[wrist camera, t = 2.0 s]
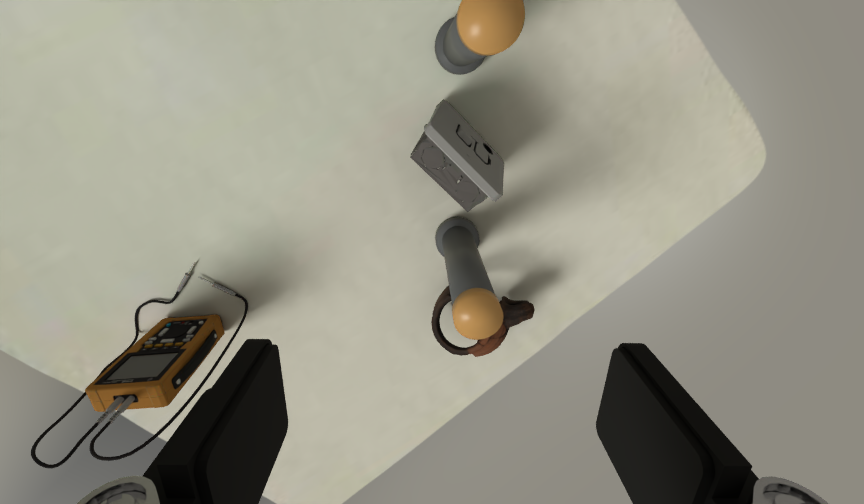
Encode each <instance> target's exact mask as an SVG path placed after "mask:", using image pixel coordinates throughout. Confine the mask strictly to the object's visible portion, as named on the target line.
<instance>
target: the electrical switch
mask: <svg viewBox="0 0 864 504" xmlns="http://www.w3.org/2000/svg"><path fill="white" fill-rule="evenodd" d="M424 130H425V131H424V133H423V134H422V136H421V138H420V140H419V141H418V143H417V145H416V147H415V148H414V150H413V152H412V153H411V155H412V156H411V155H410V156H411V158H412V159H413V160H414V161H415V162H416V163H417V164H418V165H419V166H420V167H421V168H422V169H423V170H424V171H425V172H426V173H427V174H428V175H429V176H430V177H431V178H433V179H434V180H435V181H436V182H437V183H438V184H439V185H440V186H441V187H442V188H443V189H444V190H445V191H446V192H447V193H448V194H449V195H450V196H451V197H452V198H453V199H454V200H456V201H457V202H458V203H459V204H460V205H461V206H462V207H463V208H464V209H465V210H466V211H467V212H469V211H470V210H471V209H472V208H473V207H475V206H476V205H477V204H479V203H481V202H482V201H484V200H485V199H486V198H487V197H489V198H490V199H491V200H492V201H497V200H498V199H499V198H500V197H501V196H502V195H503V174H504V162H503V160H502V158H501V157H500V156H499V155H498V154H497V153H496V152H495V151H494V150H493V149H492V148H491V147H490V146H489V144H488V143H487V142H486V141H485V140H484V139H483V138H482V137H481V136H480V135H479V134H478V133H477V132H476V131H475V130H474V129H473V128H472V127H471V126H470V125H469V123H468V122H467V121H466V120H465V119H464V118H463V117H462V116H461V115H460V114H459V113H458V112H457V111H456V110H455V109H454V108H453V107H452V106H451V105H450V104H449V103H448V102H447V101H446V100H444V99H443V100H442V101H441V102H440V103H439V104H438V105H437V106H436V109H435V111H434V113H433V115H432V117H431V119H430V122H429V123H428V124H426V125H425V127H424ZM421 156H422V157H421ZM444 159H445V160H444ZM424 164H425V165H424ZM425 166H426V167H425ZM439 167H440V168H439ZM444 167H445V169H443V168H444ZM437 168H439V169H437ZM442 169H443V170H442ZM458 180H460V182H459V183H458V184H457V181H458ZM456 192H457V193H456ZM462 201H464V202H462Z"/></svg>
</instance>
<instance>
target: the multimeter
mask: <svg viewBox="0 0 864 504" xmlns="http://www.w3.org/2000/svg"><path fill="white" fill-rule="evenodd" d="M194 265H195V263H194V264H193V265H192V267H191V269H190V270H189V272H188V273H185V276H184V278H183V280H182V281H181V283H180V285H179V287H178V289H177V292H176V294H175V296H174V298H173V299H172V300H171V301H170V302H165V301H158V300H152V301H148V302H146V303H144V304H142V305H141V306H139V307H138V309H137V310H136V313H135V327H136V336H135V339H134V341H133V342H132V344H131V345H130V346H129V347H128V348H127V349H126V350H125V351H124V352H123V353H122V354H121V355H119V356H118V357H117V358H116V359H114V360H113V361H112V362H111V363H110V364H108V365H107V366H106V367H105V368H104V369H103V370H102V372H101V373H100V374H99V376H98V377H97V378H96V379H95V380H94V381H93V382H92V383H91V384H90V385H89V386H88V387H87V388H86V389H85V393H84V394H83V395H82V396H81V397H80V398H79V399H78V400H77V401H76V402H75V403H74V405H73V406H72V407H71V408H70V409H69V410H68V411H67V412H66V413H65V414H63V416H61V417H60V418H59V419H58V420H57V421H56V422H55V423H54V424H52V425H51V426H50V427H49V428H48V429H47V430H46V431H45V432H44V433H43V434H42V435H41V436H40V437H39V438H38V439H37V440H36V442H35V443H34V445H33V446H32V449H31V456H32V458H33V460H34V461H35V462H36V463H37V464H38V465H40V466H42V467H45V468H55V467H58V466H60V465H61V464H63V463H64V462H65V461H67V460H68V459H69V457H71V455H72V454H73V453H74V452H75V450H76V449H77V447H79V445H80V444H81V443H82V442H83V440H84V439H85V438H86V437H87V436H88V435H89V434H90V433H91V432H92V431H93V430H94V429H95V428H96V427H97V426H98V425H99V424H100V423H101V422H102V421H103V420H104V419H105V418H106V417H107V416H108V415H109V414H111V413H112V412H113V411H114V410H117V412H116V413H115V414H114V415H113V416H112V417H111V418H110V419H109V420H108V423H107V424H106V425H105V426H104V427H103V428H102V429H101V430H100V432H98V434H97V435H96V436H95V437H94V438H93V439H92V441H91V443H90V452H91V454H92V456H93V457H95V458H97V459H99V460H108V461H110V460H118V459H121V458H124V457H127V456H130V455H132V454H134V453H135V452H137V451H138V450H140V449H142V448H143V447H145V446H146V445H147V444H149V443H150V442H151V441H152V440H154V439H155V438H156V437H157V436H158V435H159V434H160V433H162V432H163V431H164V430H165V429H166V428H167V427H168V426H169V425H170V424H171V423H172V422H173V421H174V420H175V418H176V417H177V416H178V415H179V414H180V413H181V412H182V411H183V410H184V408H185V407H186V406H187V405H188V404H189V403H190V401H191V400H192V399H193V398H194V396H195V395H196V394H197V392H198V391H199V390H200V389H201V387H202V386H203V385H204V383H205V382H206V380H207V379H208V378H209V376H210V375H211V373H212V372H213V370H214V369H215V368H216V366H217V365H218V363H219V361H220V360H221V358H222V357H223V355H224V354H225V352H226V351H227V349H228V348H229V346H230V344H231V343H232V341H233V339H234V338H235V336H236V334H237V333H238V331H239V329H240V327H241V326H242V324H243V322H244V319H245V317H246V314H247V309H248V303H247V301H246V299H244V298H243V297H242V296H240V295H238V294H236V293H235V292H233V291H232V290H230V289H227V288H225V287H223V286H221V285H219V284H217V283H216V282H215V283H212V282H210V281H208V280H206V279H204V278H202V277H199V278H200V279H202V280H204V281H206V282H208V283H210V284H212V285H213V287H216V288H218V289H220V290H222V291H224V292H226V293H228V294H230V295H234V296H237V297H239V298H241V299H242V300H243V301H244V302H245V313H244V316H243V319H242V321H241V323H240V325H239V326H238V328H237V330H236V332H235V333H234V335H233V337H232V338H231V340H230V341H229V343H228V345H227V346H226V348H225V349H224V351H223V352H222V354H221V355H220V357H219V358H218V360H217V361H216V363H215V364H214V366H213V367H212V369H211V370H210V372H209V373H208V375H207V376H206V377H205V379H204V380H203V381H202V383H201V384H200V385H199V387H198V388H197V389H196V391H195V392H194V393H193V394H192V396H191V397H190V398H189V399H188V401H187V402H186V403H185V404H184V405H183V406H182V408H181V409H180V410H179V411H178V412H177V413H176V414H175V415H174V416H173V417H172V418H171V420H170V421H169V422H168V423H167V424H166V425H165V426H164V427H162V428H161V429H160V430H159V431H158V432H157V433H156V434H155V435H154V436H153V437H151V438H150V439H149V440H148V441H146V442H145V443H144V444H142V445H141V446H140V447H138V448H136V449H134V450H133V451H131V452H129V453H126V454H123V455H120V456H116V457H102V456H99V455H97V454H96V453H95V451H94V442H95V440H96V439H97V437H98V436H99V435H100V434H101V433H102V432H103V431H104V430H105V429H106V428H107V427H108V425H109V424H111V423H112V422H113V421H114V420H115V419H116V418H117V417H118V416H119V415H120V414H121V413H123V412H124V411H125V410H126V409H139V408H153V407H154V408H158V407H164V406H168V405H169V404H170V403H171V402H172V400H173V399H174V398H175V396H176V395H177V394H178V393H179V391H180V390H181V389H182V388H183V386H184V385H185V384H186V382H187V381H188V380H189V379H190V377H191V376H192V375H193V373H194V372H195V371H196V370H197V368H198V367H199V366H200V365H201V363H202V362H203V361H204V359H205V358H206V357H207V355H208V354H209V353H210V351H211V350H212V349H213V347H214V346H215V345H216V344H217V342H218V341H219V340H220V338H221V337H222V336H223V335H224V329H223V326H222V323H221V320H220V317H219V315H208V316H194V317H180V318H165V319H162V320H161V321H160V322H159V323H158V324H157V325H155V326H154V327H153V328H152V329H151V330H150V331H149V332H148V333H146V334H145V335H144V336H143V337H142V338H141V339H140V340H139V341H137V342H136V340H137V338H138V335H139V330H138V322H137V316H138V312H139V310H140V308H141V307H143V306H144V305H146V304H148V303H152V302H157V303H164V304H170V303H172V302H173V301H174V300H175V298H176V297H177V295H178V293H179V292H180V291H181V290H182V288H183V287H184V285H185V283H186V282H187V280H188V278H189V277H190V276H191V274H190V272H191V270H192V269H193V267H194ZM135 342H136V343H135ZM134 343H135V344H134ZM108 367H109V368H108ZM107 368H108V369H107ZM86 394H87V395H88V397H89V399H90V401H91V403H92V405H93V408H94V410H95V411H98V412H104V411H105V413H104V414H103V415H102V416H101V417H100V418H99V419H98V420H97V421H96V423H95V425H94V426H93V427H92V428H91V429H90V430H89V431H88V432H87V433H86V434H85V435H84V436H83V437H82V438H81V439H80V440H79V442H78V443H77V444H76V446H75V447H74V448H73V449H72V450H71V451H70V453H69V454H68V455H67V456H66V457H65V458H64V459H63V460H62V461H61V462H59V463H57V464H54V465H48V464H45V463H43V462H41V461H40V460H39V459H38V458H37V457H36V455H35V450H36V447H37V445H38V443H39V442H40V440H41V439H42V438H43V437H44V436H45V435H46V434H47V432H49V431H50V430H51V429H52V428H53V427H54V426H55V425H56V424H58V423H59V422H60V421H61V420H62V419H63V418H64V417H65V416H66V415H67V414H68V413H69V412H70V411H71V410H72V409H73V408H74V407H75V406H76V405H77V404H78V403H79V402H80V401H81V400H82V399H83V398H84V396H85V395H86Z"/></svg>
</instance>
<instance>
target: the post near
mask: <svg viewBox="0 0 864 504" xmlns="http://www.w3.org/2000/svg"><path fill="white" fill-rule="evenodd" d="M524 19H525V9H524V3H523V0H462V1H461V4H460V6H459V9H458V12H457V14H456V16H455V17H453V18H451V19H449V20H448V21H447V22H445V23H444V24H443V26H442V27H441V28H440V30H439V32H438V34H437V37H436V41H435V53H436V57H437V59H438V61H439V63H440V65H441V66H442V67H443V68H444V69H445V70H447V71H448V72H450V73H453V74H458V75H461V74H467V73H469V72H472V71H473V70H475V69H476V68H477V67H478V66H479V65H480V64H481V63H482V61H483V60H484V58H485V57H486V56H490V55H494V54H497V53H500V52H502V51H504V50H506V49H507V48H509V47H510V46H511V45H512V44H513V43H514V42H515V41H516V40H517V38H518V37H519V35H520V33H521V31H522V28H523V24H524Z"/></svg>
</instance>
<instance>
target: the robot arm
mask: <svg viewBox="0 0 864 504" xmlns="http://www.w3.org/2000/svg"><path fill="white" fill-rule="evenodd" d="M287 429H288V416H287V409H286V401H285V394H284V387H283V379H282V372H281V364H280V357H279V350H278V346H277V345H272V342H271V341H270V340H269V339H247V340H246V341H245V342H244V344H243V345H242V346H241V348H240V349H239V351H238V352H237V353H236V355H235V356H234V358H233V359H232V360H231V362H230V363H229V365H228V366H227V367H226V369H225V370H224V372H223V373H222V374H221V376H220V377H219V379H218V380H217V381H216V383H215V384H214V385H213V387H212V388H210V389H208V390H206V391H205V392H204V393H203V394H202V396H201V397H200V398H199V400H198V401H197V402H196V404H195V405H194V406H193V408H192V409H191V411H190V412H189V413H188V415H187V416H186V417H185V419H184V420H183V421H182V423H181V424H180V426H179V427H178V428H177V430H176V431H175V432H174V434H173V435H172V436H171V438H170V439H169V441H168V442H167V443H166V445H165V446H164V447H163V449H162V450H161V452H160V453H159V454H158V456H157V457H156V458H155V460H154V461H153V462H152V464H151V465H150V466H149V468H148V469H147V471H146V472H145V473H144V475H143V476H128V477H123V478H119V479H116V480H114V481H111V482H108V483H106V484H104V485H102V486H100V487H99V488H97V489H95V490H93V491H92V492H91V493H89V494H88V495H87V496H85V497H84V498H83V499H82V500H80V501H79V502H78V503H77V504H258V503H259V501H260V498H261V496H262V493H263V491H264V488H265V486H266V483H267V481H268V478H269V476H270V473H271V471H272V468H273V466H274V463H275V461H276V458H277V456H278V453H279V451H280V448H281V446H282V443H283V441H284V438H285V436H286V433H287ZM596 429H597V433H598V436H599V438H600V440H601V441H602V444H603V446H604V448H605V450H606V452H607V453H608V456H609V458H610V460H611V462H612V463H613V465H614V467H615V469H616V471H617V473H618V475H619V477H620V479H621V481H622V483H623V485H624V487H625V489H626V491H627V493H628V495H629V497H630V499H631V501H632V502H633V504H828V503H827V502H826V501H825V500H823V499H822V498H821V497H819V496H818V495H816V494H815V493H814V492H812V491H810V490H809V489H807V488H805V487H803V486H801V485H799V484H797V483H794V482H792V481H789V480H786V479H782V478H777V477H763V478H761V479H758V477H757V476H756V475H755V474H754V473H753V472H752V471H751V468H752V465H751V464H750V463H749V462H748V461H747V460H746V458H745V457H744V456H743V455H742V454H741V453H740V452H739V451H738V450H737V448H736V447H735V446H734V445H733V444H732V443H731V442H730V440H729V439H728V438H727V437H726V436H725V435H724V434H723V432H722V431H721V430H720V429H719V428H718V427H717V426H716V425H715V423H714V422H713V421H712V420H711V419H710V418H709V417H708V416H707V414H706V413H705V412H704V411H703V410H702V409H701V407H700V406H699V405H698V404H697V403H696V402H695V401H694V400H693V398H692V397H691V396H690V395H689V394H688V393H687V392H686V390H685V389H684V388H683V387H682V386H681V385H680V384H679V382H678V381H677V380H676V379H675V378H674V377H673V376H672V375H671V374H670V372H669V371H668V370H667V369H666V368H665V367H664V365H663V364H662V363H661V362H660V361H659V360H658V359H657V358H656V356H655V355H654V354H653V353H652V352H651V351H650V350H649V348H647V346H646V345H644V344H642V343H622V344H620V345H619V347H618V348H616V349H614V350H613V352H612V356H611V360H610V364H609V369H608V373H607V378H606V382H605V387H604V391H603V395H602V399H601V404H600V408H599V412H598V417H597V421H596Z"/></svg>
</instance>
